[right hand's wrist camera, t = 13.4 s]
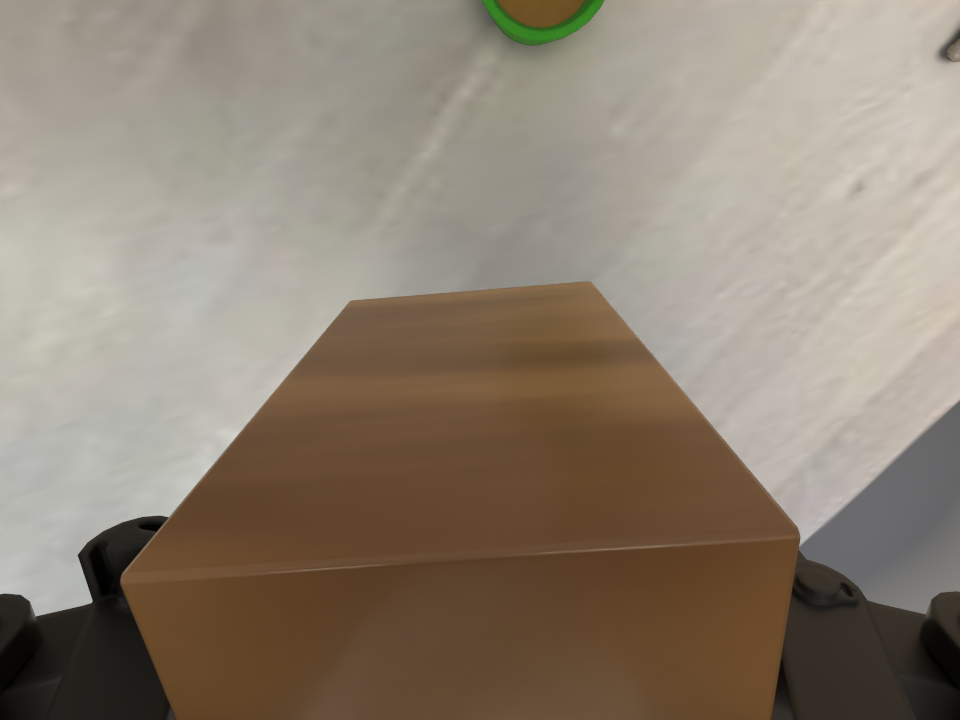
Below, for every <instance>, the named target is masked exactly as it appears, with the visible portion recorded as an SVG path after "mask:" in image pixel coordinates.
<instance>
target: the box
mask: <svg viewBox="0 0 960 720" xmlns="http://www.w3.org/2000/svg"><path fill="white" fill-rule="evenodd" d="M799 543H800V533H799V530H798V528H797V526H796V525H795V524H794V523H793V521H792V520H791V519H790V518H789V517H788V515H787V514H786V513H785V512H784V511H783V510H782V508H781V507H780V506H779V505H778V504H777V502H776V501H775V500H774V499H773V498H772V496H771V495H770V494H769V493H768V492H767V490H766V489H765V488H764V487H763V486H762V485H761V483H760V482H759V481H758V480H757V479H756V477H755V476H754V475H753V474H752V473H751V471H750V470H749V469H748V468H747V467H746V466H745V464H744V463H743V462H742V461H741V460H740V458H739V457H738V456H737V455H736V454H735V452H734V451H733V450H732V449H731V448H730V446H729V445H728V444H727V443H726V442H725V441H724V439H723V438H722V437H721V436H720V435H719V433H718V432H717V431H716V430H715V429H714V427H713V426H712V425H711V424H710V423H709V421H708V420H707V419H706V418H705V417H704V416H703V414H702V413H701V412H700V411H699V410H698V408H697V407H696V406H695V405H694V404H693V402H692V401H691V400H690V399H689V398H688V396H687V395H686V394H685V393H684V392H683V391H682V389H681V388H680V387H679V386H678V385H677V383H676V382H675V381H674V380H673V379H672V377H671V376H670V375H669V374H668V373H667V372H666V370H665V369H664V368H663V367H662V366H661V364H660V363H659V362H658V361H657V360H656V358H655V357H654V356H653V355H652V354H651V352H650V351H649V350H648V349H647V348H646V347H645V345H644V344H643V343H642V342H641V341H640V339H639V338H638V337H637V336H636V335H635V333H634V332H633V331H632V330H631V329H630V327H629V326H628V325H627V324H626V323H625V322H624V320H623V319H622V318H621V317H620V316H619V314H618V313H617V312H616V311H615V310H614V308H613V307H612V306H611V305H610V304H609V302H608V301H607V300H606V299H605V298H604V297H603V295H602V294H601V293H600V292H599V291H598V289H597V288H596V287H595V286H594V285H593V283H592V282H589V281H588V282H576V283H563V284H551V285H539V286H526V287H514V288H502V289H489V290H477V291H465V292H453V293H440V294H428V295H416V296H403V297H391V298H379V299H366V300H354V301H350V302H349V303H348V304H347V305H346V307H345V308H344V309H343V310H342V311H341V313H340V314H339V315H338V316H337V317H336V319H335V320H334V321H333V322H332V323H331V325H330V326H329V327H328V328H327V329H326V331H325V332H324V333H323V334H322V335H321V337H320V338H319V339H318V340H317V341H316V343H315V344H314V345H313V346H312V347H311V348H310V350H309V351H308V352H307V353H306V354H305V356H304V357H303V358H302V359H301V360H300V362H299V363H298V364H297V365H296V366H295V368H294V369H293V370H292V371H291V372H290V374H289V375H288V376H287V377H286V378H285V380H284V381H283V382H282V383H281V384H280V386H279V387H278V388H277V389H276V390H275V392H274V393H273V394H272V395H271V396H270V397H269V399H268V400H267V401H266V402H265V403H264V405H263V406H262V407H261V408H260V409H259V411H258V412H257V413H256V414H255V415H254V417H253V418H252V419H251V420H250V421H249V423H248V424H247V425H246V426H245V427H244V429H243V430H242V431H241V432H240V433H239V435H238V436H237V437H236V438H235V439H234V440H233V442H232V443H231V444H230V445H229V446H228V448H227V449H226V450H225V451H224V452H223V454H222V455H221V456H220V457H219V458H218V460H217V461H216V462H215V463H214V464H213V466H212V467H211V468H210V469H209V470H208V472H207V473H206V474H205V475H204V476H203V478H202V479H201V480H200V481H199V482H198V483H197V485H196V486H195V487H194V488H193V489H192V491H191V492H190V493H189V494H188V495H187V497H186V498H185V499H184V500H183V501H182V503H181V504H180V505H179V506H178V507H177V509H176V510H175V511H174V512H173V513H172V515H171V516H170V517H169V518H168V519H167V521H166V522H165V523H164V524H163V525H162V527H161V528H160V529H159V530H158V531H157V532H156V534H155V535H154V536H153V537H152V538H151V540H150V541H149V542H148V543H147V544H146V546H145V547H144V548H143V549H142V550H141V552H140V553H139V554H138V555H137V556H136V558H135V559H134V560H133V561H132V562H131V564H130V565H129V566H128V567H127V568H126V570H125V571H124V572H123V573H122V576H121V581H120V584H121V586H122V589H123V591H124V594H125V596H126V599H127V601H128V604H129V606H130V608H131V611H132V613H133V616H134V618H135V621H136V623H137V625H138V628H139V630H140V633H141V635H142V638H143V640H144V643H145V645H146V647H147V650H148V652H149V655H150V657H151V660H152V662H153V664H154V667H155V669H156V672H157V674H158V677H159V679H160V682H161V684H162V686H163V689H164V691H165V694H166V696H167V699H168V701H169V703H170V706H171V708H172V711H173V713H174V716H175V718H176V720H771V718H772V711H773V705H774V699H775V693H776V686H777V680H778V674H779V668H780V662H781V655H782V649H783V643H784V637H785V630H786V624H787V618H788V612H789V605H790V599H791V593H792V587H793V580H794V574H795V568H796V562H797V556H798V549H799Z"/></svg>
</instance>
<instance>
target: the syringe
mask: <svg viewBox="0 0 960 720" xmlns="http://www.w3.org/2000/svg"><path fill="white" fill-rule="evenodd" d="M946 57H947V58H948V59H949V60H950V61H952V62H959V61H960V38H959V39H958V40H957V41H956V42H954V43H953V44H952V45H951V46H950V47H949V48H948V49H947V51H946Z"/></svg>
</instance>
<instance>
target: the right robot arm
mask: <svg viewBox="0 0 960 720" xmlns="http://www.w3.org/2000/svg"><path fill="white" fill-rule="evenodd" d="M168 518H169V517H164V516H150V517H141V518H137V519H133V520H130V521H126V522H122V523H120V524H118V525H116V526H114V527H112V528H109V529H107V530H105V531H103V532H102V533H100V534H99V535H98V536H96V537H95V538H93V539H92V540H91V541H89V542H88V543H87V544H86V545H85V547H84V548H83V549H82V550H81V552H80V553H79V554H78V557H79V560H80V563H81V566H82V569H83V572H84V575H85V578H86V581H87V584H88V587H89V590H90V594H91V597H92V600H93V602H92V603H91V604H87V605H84V606H80V607H76V608H71V609H67V610H63V611H58V612H54V613H49V614H45V615H41V616H36V617H35V614H34V611H33V609H32V606H31V604H30V601H28V600H27V599H25V598H24V597H23V596H21V595H14V594H0V720H176V718H175V716H174V713H173V711H172V708H171V706H170V703H169V701H168V699H167V696H166V694H165V691H164V689H163V686H162V684H161V682H160V679H159V677H158V674H157V672H156V669H155V667H154V664H153V662H152V660H151V657H150V655H149V652H148V650H147V647H146V645H145V643H144V640H143V638H142V635H141V633H140V630H139V628H138V625H137V623H136V621H135V618H134V616H133V613H132V611H131V608H130V606H129V604H128V601H127V599H126V596H125V594H124V591H123V589H122V586H121V584H120V581H121V576H122V573H123V572H124V571H125V570H126V568H127V567H128V566H129V565H130V564H131V562H132V561H133V560H134V559H135V558H136V556H137V555H138V554H139V553H140V552H141V550H142V549H143V548H144V547H145V546H146V544H147V543H148V542H149V541H150V540H151V538H152V537H153V536H154V535H155V534H156V532H157V531H158V530H159V529H160V528H161V527H162V525H163V524H164V523H165V522H166V521H167V519H168ZM771 720H960V592H945V593H940V594H939V595H937V596H936V597H934V598H933V599H932V600H931V603H930V605H929V608H928V610H927V613H926V615H925V614H921V613H916V612H912V611H908V610H903V609H899V608H895V607H890V606H886V605H881V604H877V603H874V602H871V601H867V599H866V598H865V596H864V595H863V593H862V592H861V590H860V589H859V588H858V587H857V586H856V585H855V584H854V583H853V582H851V581H850V580H849V579H848V578H847V577H845V576H844V575H843V574H841V573H839V572H837V571H835V570H833V569H831V568H829V567H827V566H825V565H822V564H819V563H816V562H813V561H809V560H806V559H805V557H804V556H803V555H802V553H801V552H800V551H799V550H798V556H797V562H796V568H795V574H794V580H793V587H792V593H791V599H790V605H789V612H788V618H787V624H786V630H785V637H784V643H783V649H782V655H781V662H780V668H779V674H778V680H777V686H776V693H775V699H774V705H773V711H772V718H771Z"/></svg>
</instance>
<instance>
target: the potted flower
mask: <svg viewBox="0 0 960 720" xmlns="http://www.w3.org/2000/svg"><path fill="white" fill-rule="evenodd" d="M482 1H483V4H484V6H485V7H486V9H487V11H488V12H489V14H490V15H491V17H492V18H493V19H494V21H495V22H496V24H497V25H498V27H499V28H500V29H501V30H502V31H503V32H504V34H505V35H507V36H508V37H510V38H511V39H512V40H514V41H517V42H519V43H522V44H527V45H541V44H544V43H548V42H551V41H554V40H558V39H561V38H564V37H566V36H568V35H569V34H571V33H573V32H575V31H577V30H579V29H580V28H581V27H582V26H583V25H585V24H586V23H587V22H588V21H589V20H590V19H591V18H592V17H593V16H594V15H595V13H596V12H597V11H598V10H599V9H600V7H601V5H602V4H603V2H604V0H482Z"/></svg>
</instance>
